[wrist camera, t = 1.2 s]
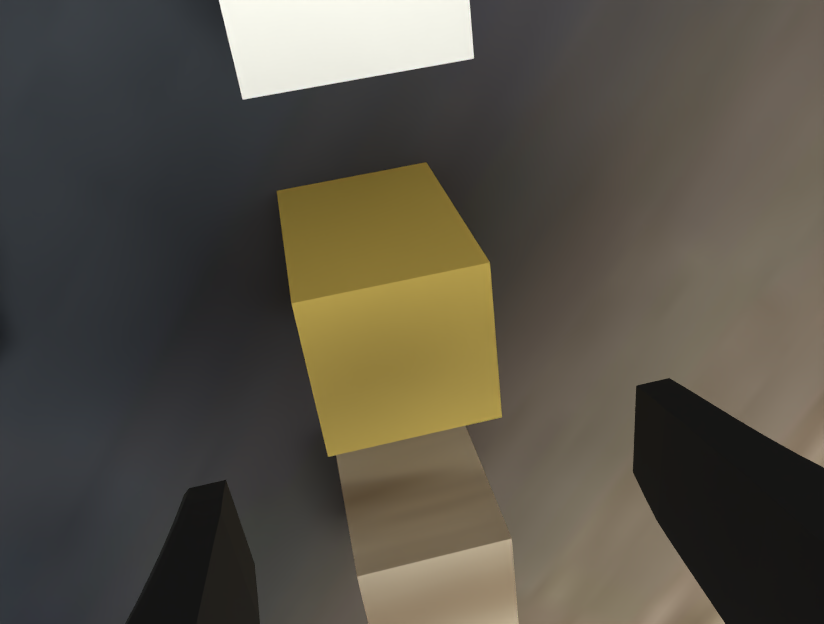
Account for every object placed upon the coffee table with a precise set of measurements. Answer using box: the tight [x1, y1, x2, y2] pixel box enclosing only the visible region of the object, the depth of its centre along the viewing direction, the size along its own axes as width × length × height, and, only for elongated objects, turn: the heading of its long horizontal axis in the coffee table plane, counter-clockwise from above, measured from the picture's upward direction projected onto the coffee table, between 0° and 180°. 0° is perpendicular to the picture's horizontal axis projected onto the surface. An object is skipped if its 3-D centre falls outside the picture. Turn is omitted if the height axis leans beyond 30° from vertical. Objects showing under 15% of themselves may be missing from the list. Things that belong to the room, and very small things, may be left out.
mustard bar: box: [277, 162, 502, 457], centre depth 19 cm, size 4×4×6 cm
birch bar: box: [336, 426, 518, 624], centre depth 23 cm, size 4×4×6 cm
